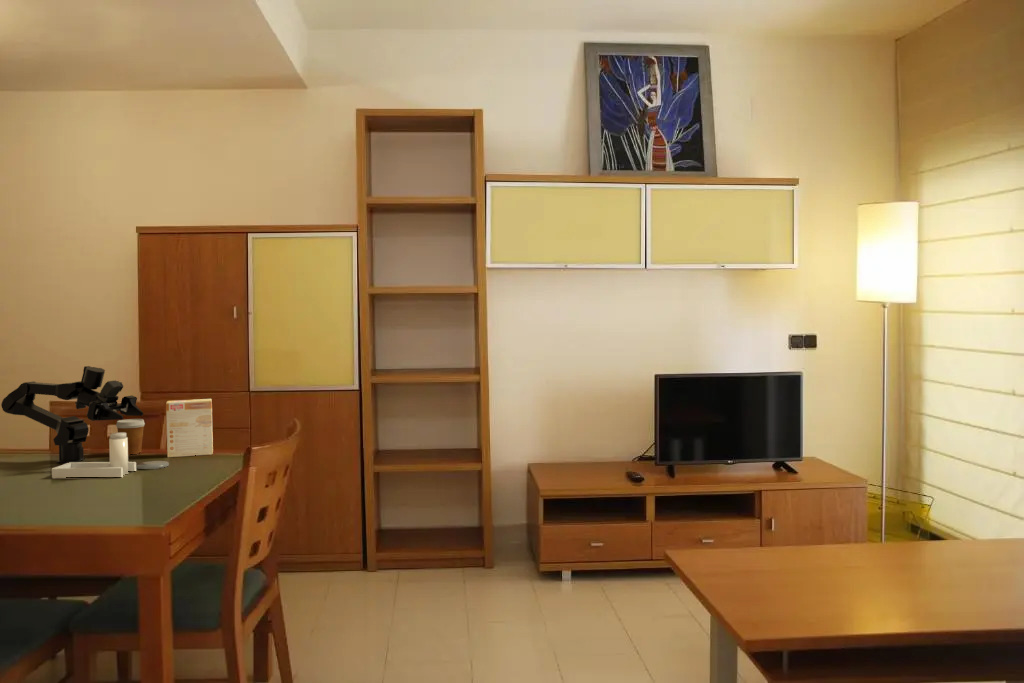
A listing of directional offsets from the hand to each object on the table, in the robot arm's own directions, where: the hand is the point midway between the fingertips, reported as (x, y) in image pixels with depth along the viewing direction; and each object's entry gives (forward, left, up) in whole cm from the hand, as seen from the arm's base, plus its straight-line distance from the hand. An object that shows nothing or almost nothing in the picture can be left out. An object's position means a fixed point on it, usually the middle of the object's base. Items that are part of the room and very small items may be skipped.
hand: (132, 416), depth 264 cm
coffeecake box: (+11, +19, -17) cm, 28 cm away
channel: (-5, -15, -16) cm, 23 cm away
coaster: (+7, -3, -16) cm, 18 cm away
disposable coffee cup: (-11, +21, -17) cm, 29 cm away
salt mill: (+2, -15, -16) cm, 22 cm away
